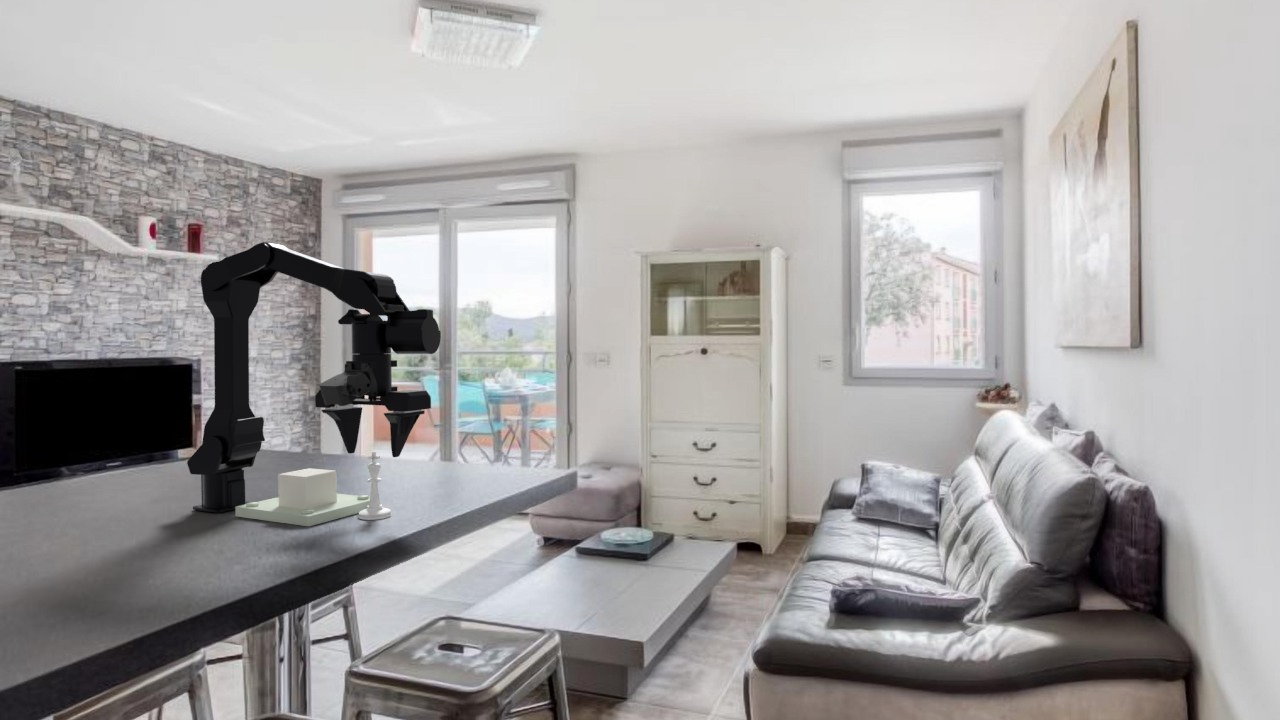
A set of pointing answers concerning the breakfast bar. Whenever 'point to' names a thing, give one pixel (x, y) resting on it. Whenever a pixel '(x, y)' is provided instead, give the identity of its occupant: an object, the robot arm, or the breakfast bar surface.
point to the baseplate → (303, 510)
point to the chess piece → (374, 494)
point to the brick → (307, 488)
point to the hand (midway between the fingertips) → (373, 455)
